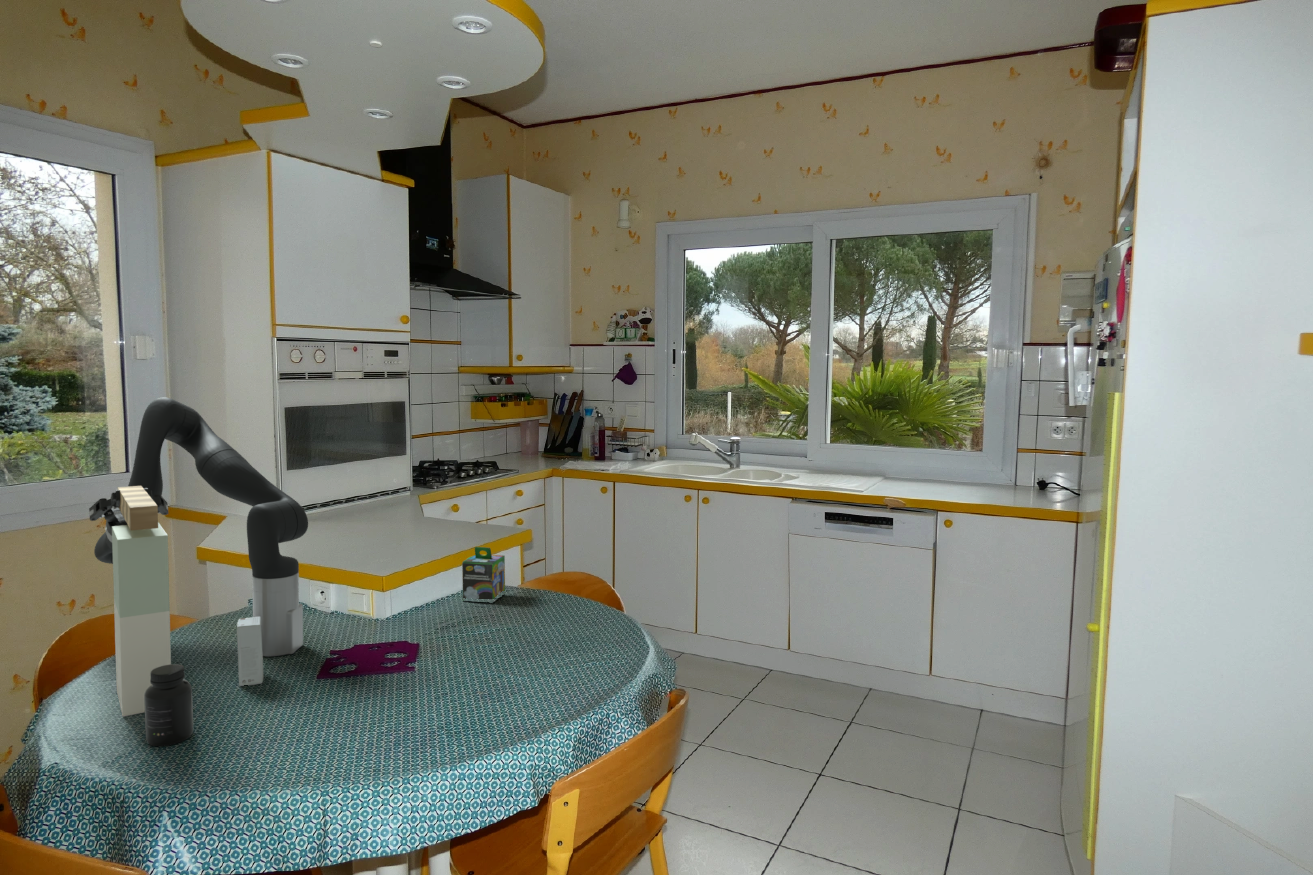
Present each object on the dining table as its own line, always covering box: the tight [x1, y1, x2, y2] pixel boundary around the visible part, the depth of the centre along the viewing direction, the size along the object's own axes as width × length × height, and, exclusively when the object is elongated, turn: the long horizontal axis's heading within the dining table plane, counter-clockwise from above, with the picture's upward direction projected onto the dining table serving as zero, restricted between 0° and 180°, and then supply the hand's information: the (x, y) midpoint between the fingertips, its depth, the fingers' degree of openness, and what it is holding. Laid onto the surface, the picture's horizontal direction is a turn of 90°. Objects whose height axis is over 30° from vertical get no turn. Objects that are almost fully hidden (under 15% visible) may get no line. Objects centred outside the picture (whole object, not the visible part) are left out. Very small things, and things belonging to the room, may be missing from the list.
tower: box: [112, 521, 172, 717], centre depth 144 cm, size 14×8×32 cm, turn 38°
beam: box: [117, 486, 159, 530], centre depth 146 cm, size 28×4×4 cm, turn 38°
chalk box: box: [461, 546, 506, 599], centre depth 215 cm, size 9×9×15 cm
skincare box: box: [236, 616, 264, 687], centre depth 155 cm, size 6×4×12 cm
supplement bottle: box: [144, 663, 194, 747], centre depth 130 cm, size 7×7×12 cm
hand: (132, 493), depth 152 cm, fingers closed on beam, 4 cm apart
